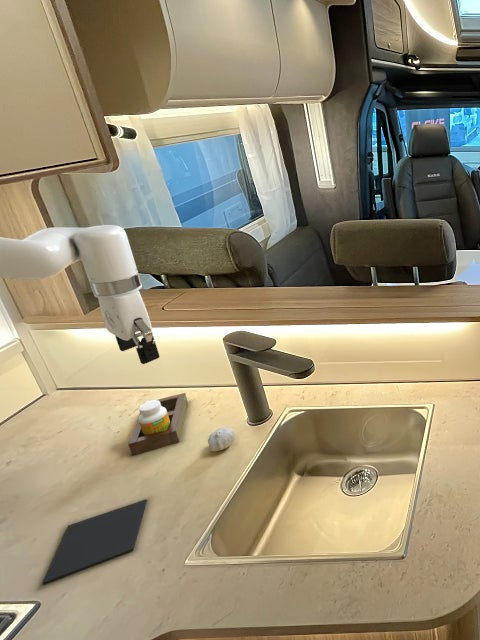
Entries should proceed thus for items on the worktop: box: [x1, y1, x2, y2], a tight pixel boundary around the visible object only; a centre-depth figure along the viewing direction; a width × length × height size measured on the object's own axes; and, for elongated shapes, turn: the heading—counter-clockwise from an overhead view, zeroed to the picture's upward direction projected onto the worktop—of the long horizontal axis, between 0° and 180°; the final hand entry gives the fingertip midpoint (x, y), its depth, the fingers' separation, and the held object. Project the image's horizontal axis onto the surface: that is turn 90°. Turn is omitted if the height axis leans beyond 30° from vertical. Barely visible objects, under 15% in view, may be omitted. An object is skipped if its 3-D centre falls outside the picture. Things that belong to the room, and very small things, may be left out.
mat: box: [42, 498, 148, 585], centre depth 79 cm, size 12×12×1 cm
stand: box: [128, 392, 189, 456], centre depth 106 cm, size 9×16×4 cm, turn 30°
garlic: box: [207, 426, 236, 452], centre depth 101 cm, size 6×5×5 cm
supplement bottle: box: [137, 399, 171, 436], centre depth 102 cm, size 5×5×10 cm
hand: (140, 354), depth 92 cm, fingers open, 9 cm apart
